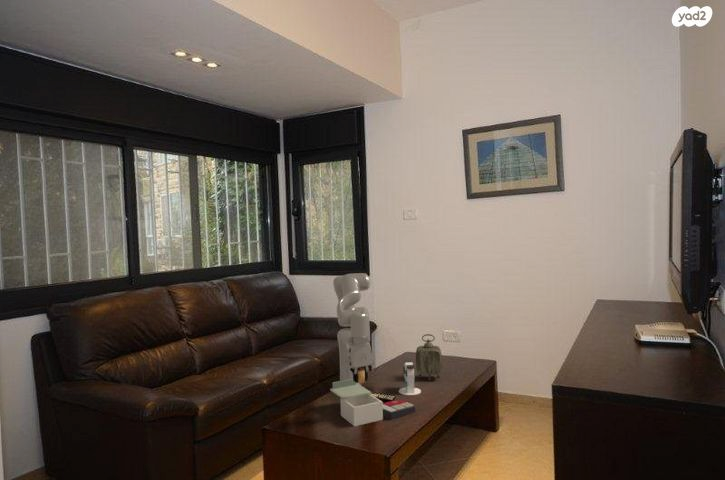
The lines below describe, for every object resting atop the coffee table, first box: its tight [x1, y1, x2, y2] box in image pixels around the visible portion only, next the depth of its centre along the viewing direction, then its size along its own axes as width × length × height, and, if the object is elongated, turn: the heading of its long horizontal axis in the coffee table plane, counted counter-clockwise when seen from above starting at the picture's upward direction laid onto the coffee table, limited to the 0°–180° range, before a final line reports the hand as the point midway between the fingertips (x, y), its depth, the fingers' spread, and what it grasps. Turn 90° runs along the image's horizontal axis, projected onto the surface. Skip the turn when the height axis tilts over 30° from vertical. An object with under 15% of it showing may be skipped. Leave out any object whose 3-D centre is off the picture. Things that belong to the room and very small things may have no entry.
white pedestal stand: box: [398, 359, 422, 396], centre depth 247 cm, size 12×11×15 cm
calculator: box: [382, 398, 416, 421], centre depth 219 cm, size 11×4×15 cm
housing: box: [339, 393, 384, 427], centre depth 214 cm, size 14×14×8 cm
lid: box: [329, 379, 372, 399], centre depth 224 cm, size 14×14×4 cm
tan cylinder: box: [357, 367, 366, 384], centre depth 214 cm, size 4×4×6 cm
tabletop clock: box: [415, 333, 443, 381], centre depth 266 cm, size 14×9×25 cm, turn 84°
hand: (360, 380), depth 214 cm, fingers closed on tan cylinder, 4 cm apart
